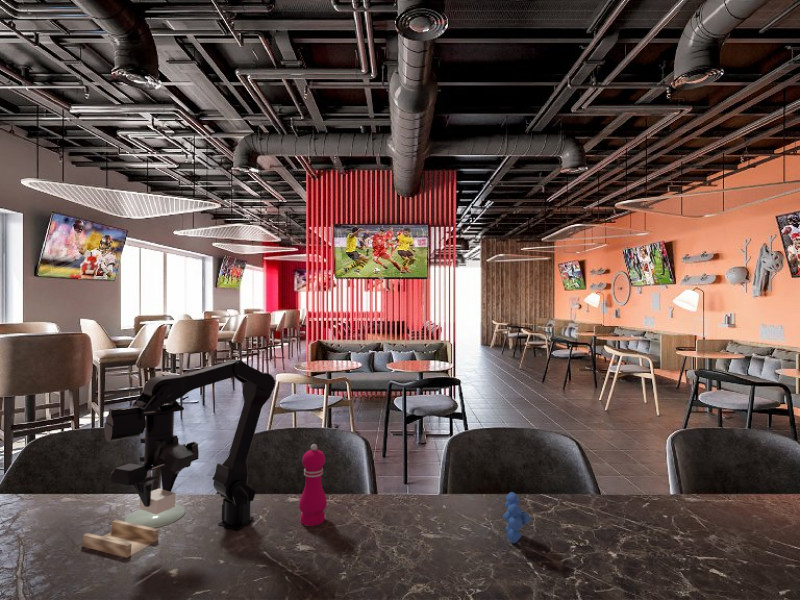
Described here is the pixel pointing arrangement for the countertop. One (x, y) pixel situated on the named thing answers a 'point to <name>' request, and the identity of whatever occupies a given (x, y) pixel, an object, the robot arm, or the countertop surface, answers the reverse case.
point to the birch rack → (122, 539)
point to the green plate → (156, 517)
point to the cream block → (159, 501)
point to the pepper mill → (313, 488)
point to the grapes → (514, 517)
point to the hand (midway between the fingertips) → (156, 501)
